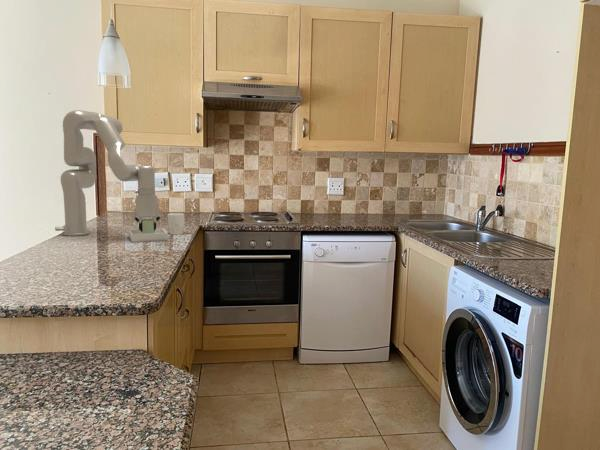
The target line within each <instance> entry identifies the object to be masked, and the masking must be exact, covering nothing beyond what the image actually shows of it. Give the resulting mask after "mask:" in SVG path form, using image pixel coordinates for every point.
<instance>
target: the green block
mask: <svg viewBox="0 0 600 450" xmlns="http://www.w3.org/2000/svg"><path fill="white" fill-rule="evenodd" d="M141 222H142V233H154V220H153V218H142V221H141Z"/></svg>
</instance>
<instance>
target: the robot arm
mask: <svg viewBox="0 0 600 450" xmlns="http://www.w3.org/2000/svg"><path fill="white" fill-rule="evenodd" d="M82 130H90V131H92V130H93V131H96V134H97V135H98V137H99V139H100V141H101V142H102V144H103V145H104V147H105V149H106V150H107V163H108V165H109V168H110V170H111V172H112V173H113V174H114V177H116V178H117V179H118V180H119V181H121V182H137V189H134V194H137V195H136V199H135V210H134V211H132V213H131V215H130V217H131V218H132V219H133V220H135V221H136V222H137V223H138V229H139V230H140V231H141V232H142V222H141V221H142V219H144V218H151V219H153V220H154V231H155V229H157V223H158V222H159V220H160V219H161V218H163V217H164V214H163V212H162V211H161V210H160V209H159V198H158V195H157V194H156V181H155V180H156V179H155V178H156V177H155V175H156V174H155V172H156V171H155V167H154V166H153V165H139V164H138V165H137V164H126V163H125V161H124V159H123V158H122V155H121V150H122V149H124V147H125V145H126V143H125V141H124V139H123V138H122V136H121V133H122V132H123V125H122V122H121V121H120V120H119V119H117V118H116V117H113V116H109V115H106V114H102V113H99V112H94V111H93V112H92V111H86V110H77V109H76V110H71V111H69V112H68V113H66V115H65V116H64V117H63V119H62V132H63V161H64V164H65V165H67V166H69V167H78V168H76V169H75V168H73V169H68V170H67V169H66V170H65V171H64V172H62V173H61V175H60V185H61V188H62V194H63V205H64V206H63V207H64V225H62V226H55V228H54V229H55V231H56V232H57V231H58V232H60V231H62V232H61V235H63V236H66V235H67V237H71V236H72V237H73V236H74V237H77V236H78V237H79V236H86V235H90V234H91V230H90V229H88V226H87V223H88V222H87V206H86V205H87V204H86V203H87V202H86V196H85V195H86V194H85V193H84V190H83V189H91V187H93V186H94V185H95V183H96V180H97V156H96V153H95V152H94V151H93V149H91V148H89V147H86V146H84V135H83V133H82Z"/></svg>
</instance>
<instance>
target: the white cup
mask: <svg viewBox="0 0 600 450" xmlns="http://www.w3.org/2000/svg"><path fill="white" fill-rule="evenodd" d="M167 220H168V229H169V231H168V232H169V233H168V234H169V235H174V236H175V235H176V236H177V235H183V234H184V229H185V214H184V213H181V212H180V213H178V212H173V213H168V214H167Z"/></svg>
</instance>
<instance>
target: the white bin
mask: <svg viewBox="0 0 600 450" xmlns="http://www.w3.org/2000/svg"><path fill="white" fill-rule="evenodd" d="M128 238H129V241H130V242H131V243H147V242H149V243H151V242H165V241H167V242H168V241H169V233H168V232H167V231H166V230H165V229H164V228H159V227H158V228H156V229H155V231H154V233H142V232H141V231H140V230H139V228H138V229H137V228H136V229H128Z"/></svg>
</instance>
